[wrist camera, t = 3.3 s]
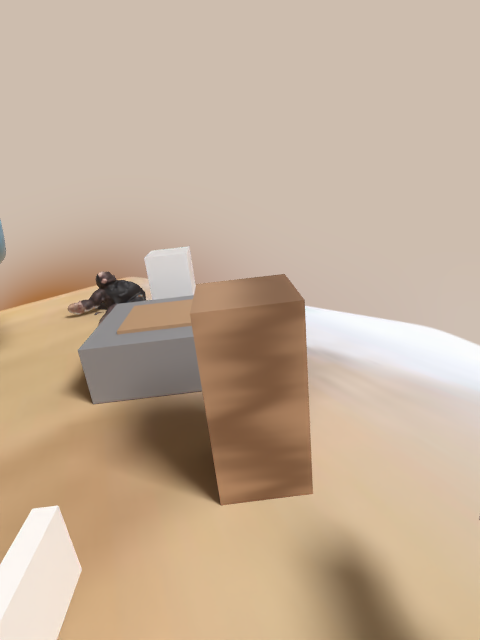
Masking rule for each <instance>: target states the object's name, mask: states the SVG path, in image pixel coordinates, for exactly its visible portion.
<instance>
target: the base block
mask: <svg viewBox="0 0 480 640" xmlns="http://www.w3.org/2000/svg"><path fill="white" fill-rule="evenodd" d="M193 297H194V295H191V296H182V297H174V298H165V299H156V300H147V301H139V302H130V303H121V304H117V305H116V306H115V307H114V308H113V309H112V311H111V312H110V313H109V314H108V315H107V317H106V318H105V319H104V320H103V321H102V322H101V324H100V325H99V326H98V327H97V328H96V329H95V331H94V332H93V333H92V334H91V335H90V336H89V338H88V339H87V340H86V341H85V342H84V344H83V345H82V346H81V347H80V348H79V349H78V353H79V356H80V360H81V363H82V367H83V370H84V374H85V377H86V381H87V384H88V388H89V391H90V395H91V398H92V402H93V404H98V403H106V402H114V401H123V400H131V399H139V398H148V397H156V396H164V395H173V394H181V393H189V392H198V391H202V386H201V379H200V373H199V367H198V361H197V355H196V349H195V342H194V336H193V330H192V324H191V318H190V311H191V306H192V301H193Z"/></svg>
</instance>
